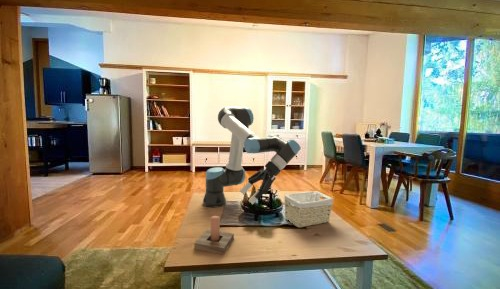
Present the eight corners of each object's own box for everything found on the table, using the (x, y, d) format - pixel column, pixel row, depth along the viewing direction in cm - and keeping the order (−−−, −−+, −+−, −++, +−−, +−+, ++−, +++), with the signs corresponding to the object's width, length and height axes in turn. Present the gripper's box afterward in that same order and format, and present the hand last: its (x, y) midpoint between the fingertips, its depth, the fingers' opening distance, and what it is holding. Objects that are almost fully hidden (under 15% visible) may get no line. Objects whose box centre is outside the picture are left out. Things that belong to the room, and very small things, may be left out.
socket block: (207, 235, 130) (207, 229, 130) (233, 239, 127) (233, 233, 127) (194, 249, 117) (194, 243, 116) (223, 254, 114) (223, 248, 113)
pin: (212, 241, 124) (212, 215, 123) (220, 242, 123) (220, 216, 122) (209, 245, 121) (209, 218, 119) (217, 246, 120) (217, 219, 118)
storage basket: (314, 212, 163) (316, 189, 161) (333, 223, 149) (334, 198, 147) (281, 218, 153) (283, 194, 151) (298, 230, 139) (299, 203, 137)
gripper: (292, 177, 118) (260, 212, 116) (269, 164, 142) (242, 193, 139) (282, 166, 116) (249, 202, 113) (261, 155, 139) (233, 184, 136)
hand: (245, 197), depth 126 cm, fingers open, 13 cm apart
